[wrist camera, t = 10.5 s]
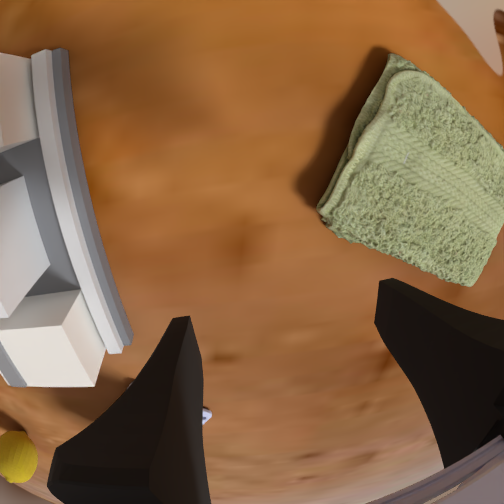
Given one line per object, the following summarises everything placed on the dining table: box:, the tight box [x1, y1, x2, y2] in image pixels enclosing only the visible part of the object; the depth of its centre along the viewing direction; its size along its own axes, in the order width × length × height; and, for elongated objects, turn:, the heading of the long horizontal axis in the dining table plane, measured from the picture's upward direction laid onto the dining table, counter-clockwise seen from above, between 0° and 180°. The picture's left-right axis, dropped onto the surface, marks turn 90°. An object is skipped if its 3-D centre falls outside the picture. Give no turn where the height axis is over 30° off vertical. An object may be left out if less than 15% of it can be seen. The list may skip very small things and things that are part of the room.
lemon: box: [0, 431, 38, 483], centre depth 23 cm, size 6×6×8 cm
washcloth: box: [316, 53, 504, 287], centre depth 19 cm, size 13×18×3 cm
